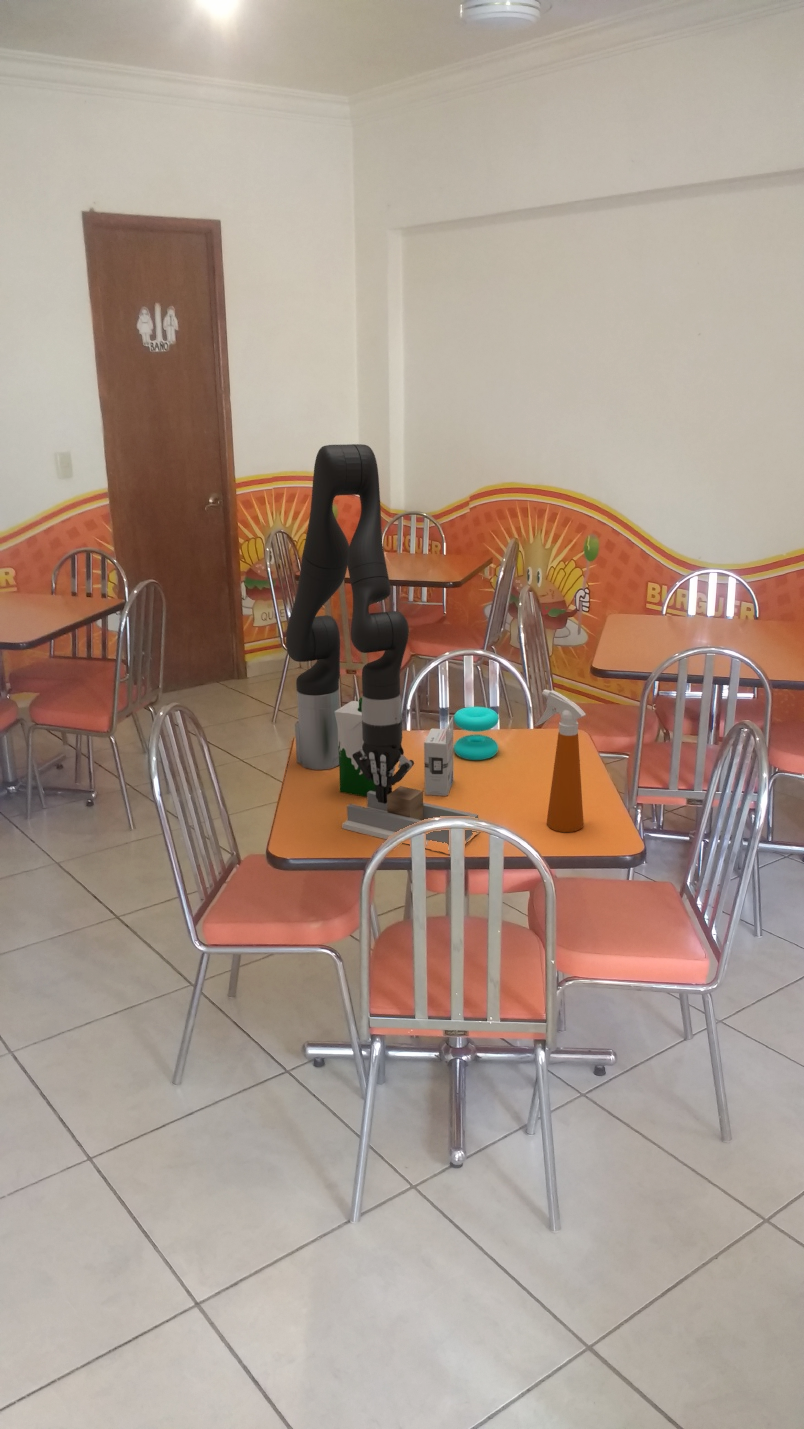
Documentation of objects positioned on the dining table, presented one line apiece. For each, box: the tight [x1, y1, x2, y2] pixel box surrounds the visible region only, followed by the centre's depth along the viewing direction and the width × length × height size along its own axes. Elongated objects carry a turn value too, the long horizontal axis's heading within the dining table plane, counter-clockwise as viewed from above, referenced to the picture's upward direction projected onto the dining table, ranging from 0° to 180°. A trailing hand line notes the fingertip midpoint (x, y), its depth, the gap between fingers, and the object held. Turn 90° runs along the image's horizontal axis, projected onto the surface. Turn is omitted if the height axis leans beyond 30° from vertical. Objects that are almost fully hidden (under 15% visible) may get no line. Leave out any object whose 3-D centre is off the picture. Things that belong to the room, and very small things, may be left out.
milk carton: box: [335, 697, 376, 798], centre depth 214 cm, size 9×9×20 cm
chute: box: [341, 791, 480, 851], centre depth 198 cm, size 24×12×4 cm, turn 59°
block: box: [387, 785, 424, 820], centre depth 198 cm, size 5×5×6 cm
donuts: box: [453, 706, 499, 761], centre depth 233 cm, size 10×10×10 cm
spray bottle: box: [533, 689, 586, 833], centre depth 196 cm, size 7×11×26 cm, turn 50°
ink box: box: [423, 716, 454, 797], centre depth 215 cm, size 9×5×15 cm, turn 168°
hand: (384, 801), depth 200 cm, fingers closed
